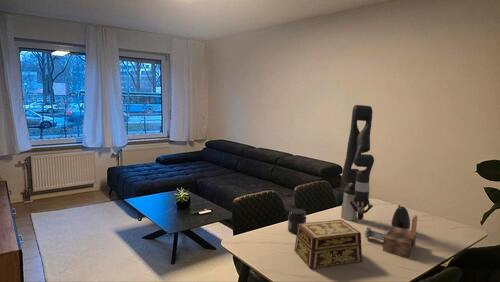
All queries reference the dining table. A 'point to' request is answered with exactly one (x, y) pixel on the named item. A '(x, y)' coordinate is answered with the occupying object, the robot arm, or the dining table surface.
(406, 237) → the walnut block
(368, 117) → the robot arm
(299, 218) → the supplement container
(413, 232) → the keeper flap
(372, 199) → the dining table surface
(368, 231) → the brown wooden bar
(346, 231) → the decorative box
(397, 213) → the dark egg shape
